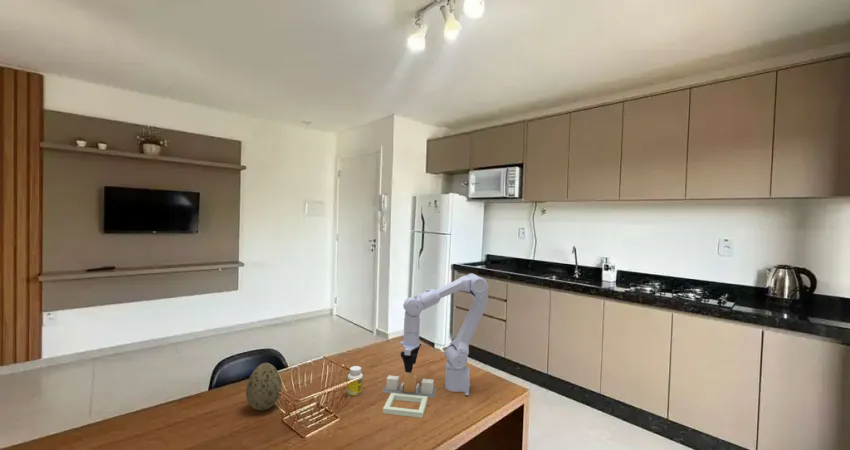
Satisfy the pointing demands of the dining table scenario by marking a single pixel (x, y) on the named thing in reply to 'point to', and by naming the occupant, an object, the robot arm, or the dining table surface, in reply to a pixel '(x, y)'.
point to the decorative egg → (263, 387)
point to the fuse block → (422, 390)
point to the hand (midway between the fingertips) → (410, 367)
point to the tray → (404, 411)
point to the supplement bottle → (355, 382)
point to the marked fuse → (409, 382)
